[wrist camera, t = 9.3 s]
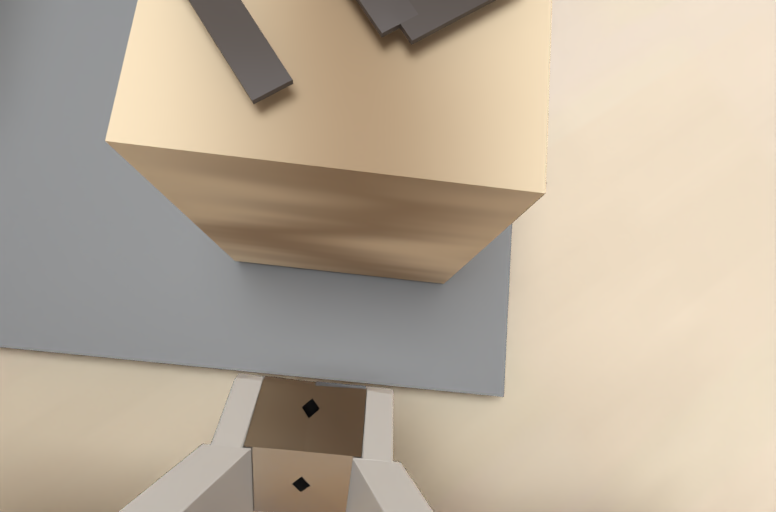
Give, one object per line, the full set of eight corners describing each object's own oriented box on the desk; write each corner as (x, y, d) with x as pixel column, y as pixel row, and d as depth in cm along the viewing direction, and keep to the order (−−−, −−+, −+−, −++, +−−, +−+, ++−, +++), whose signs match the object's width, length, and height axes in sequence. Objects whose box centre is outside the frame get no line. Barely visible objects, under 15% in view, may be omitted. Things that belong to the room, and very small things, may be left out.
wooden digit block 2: (234, 260, 15) (90, 126, 7) (266, 71, 16) (178, -239, 8) (444, 283, 15) (556, 182, 7) (458, 95, 16) (567, -179, 8)
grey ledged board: (-348, 311, 15) (-523, 297, 12) (-162, -148, 18) (-262, -248, 15) (494, 395, 16) (527, 401, 13) (517, -52, 19) (547, -127, 16)
